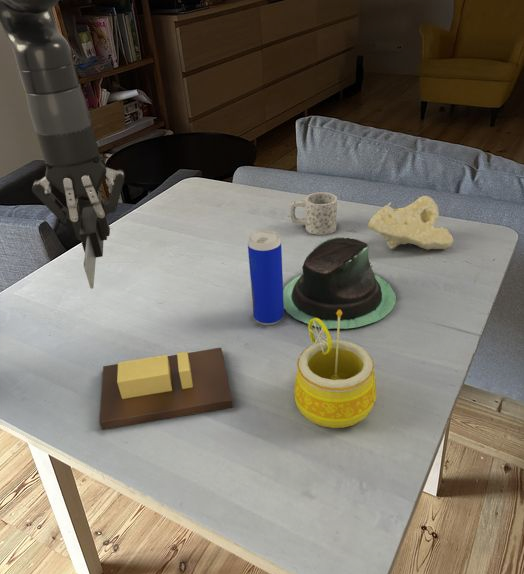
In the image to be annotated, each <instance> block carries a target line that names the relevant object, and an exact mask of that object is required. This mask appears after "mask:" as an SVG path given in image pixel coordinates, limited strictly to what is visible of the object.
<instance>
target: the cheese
mask: <svg viewBox="0 0 524 574" xmlns="http://www.w3.org/2000/svg"><path fill="white" fill-rule="evenodd" d="M391 204H392V202H389V203H388V204H385V205H384V206H383V207H382V208H380V209H379V210H376V213H375V214H374V215H373V216H372V217H370V219H369V222H368V224H367V226H368V228H369V229H370V230H371V231H374V232H376V233H378V234H380V235H381V236H382V237H383V239H384V240H385V241H386V244H387V246H388V247H389V249H390V250H394V248H396V247H398V246H399V245H406V244H412V245H415V246H417V247H418V248H420V249H424V250H426V251H427V250H446V249H448V248H449V247H451V246H452V245H453V243H454V238H453V235H452V234H451V233H450V232H449V230H448V229H447V228H444V227H443V226H440V227H436V223H437V222H438V219H439V217H440V215H439V214H440V211H439V207H438V205H437V203H436V202H435V200H434V199H433V198H432V197H430V196H428V195H422V196H420V197H419V198H417V199H416V200H414V201H413V202H412V203H410V204H408V205H406V206H404V207H398V208H396V209H393V207H391V206H390V205H391Z"/></svg>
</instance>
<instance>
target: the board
mask: <svg viewBox="0 0 524 574" xmlns="http://www.w3.org/2000/svg"><path fill="white" fill-rule="evenodd" d="M167 356H168V361H169V365H170V370H171V380H172V391H168V392H162V393H156V394H150V395H144V396H138V397H132V398H126V399H122V397H121V393H120V390H119V387H118V383H117V376H118V363H115V364H109V365H103V367H102V377H101V378H102V379H101V392H100V402H99V403H100V405H99V418H98V424H99V426H100V430H101V431H102V430H103V431H104V430H109V429H115V428H120V427H127V426H133V425H138V424H143V423H149V422H156V421H161V420H167V419H173V418H174V419H175V418H178V417H185V416H191V415H196V414H202V413H208V412H214V411H219V410H227V409H230V408H231V409H232V408H234V403H233V402H234V401H233V397H232V392H231V391H232V390H231V386H230V381H229V377H228V373H227V372H228V371H227V368H226V362H225V357H224V353H223V348H222V347H215V348H209V349H203V350H196V351H191V352H188V357H189V363H190V369H191V376H192V384H193V387H192V388H186V389H182V385H181V380H180V375H179V368H178V358H177V354H172V355H167Z"/></svg>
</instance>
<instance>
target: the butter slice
mask: <svg viewBox="0 0 524 574" xmlns="http://www.w3.org/2000/svg"><path fill="white" fill-rule="evenodd" d="M188 353H189V351H187V350H186V351H181V352H177V353H176V355H177V358H178V368H179V375H180V380H181V385H182V389H186V388H192V387H193V384H192V376H191V369H190V363H189V357H188Z"/></svg>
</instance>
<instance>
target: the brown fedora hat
mask: <svg viewBox="0 0 524 574" xmlns="http://www.w3.org/2000/svg"><path fill="white" fill-rule="evenodd" d="M369 252H370V245H369V244H368V243H367V242H364V241H362V240H359V239H358V238H357V237H354V238H351V237H342V236H340V237H339V236H336V237H329V238H328V239H326V240H324V241H323V242H320V243H319V244H318V245H317V246H315V247H314V248H313V250H312V251H310V253H308V254H307V256H306V258H305V259H304V261H303V265H302V266H301V267H302V268H301V270H302V274H301V275H297V276H296V277H294V278H293V279H292V280H291V281H289V282H288V283H287V284H286V285H285V287H283V300H284V311H286V313H287V314H288V315H290V316H291V317H292V318H293V319H295V320H297V321H300V322H303V323H304V324H307V325H309V322H310V320H311V319H313V318H318V319H320V320H321V321H322V322H323V323H324V324H325V326H326V327H327V329H328V330H330V329H337V325H338V316H337V314H336V313H337V311H338V310H341V311H342V315H341V317H340V329H345V330H347V329H353V328H354V329H355V328H360V327H364V326H366V325H370V324H372V323H373V324H374V323H376V322H378V321H380V320H382V319H383V318H385V317H386V316H388V315H389V313H391V311H393V309H394V307H395V305H396V302H397V296H396V293H395V292H394V290H393V288H392V287H391V285H390V283H388V282H387V281H386V280H385V279H383V278H382V277H380V276H379V275H377V274H375V273H374V271H373V265H371V264H372V262H370V257H369V254H370V253H369ZM314 322H315V326H316V328H318V326H317V323H316V321H314ZM318 325H319V328H322V327H321V325H320V324H319V323H318ZM315 326H314V323H313V324H312V327H315Z"/></svg>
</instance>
